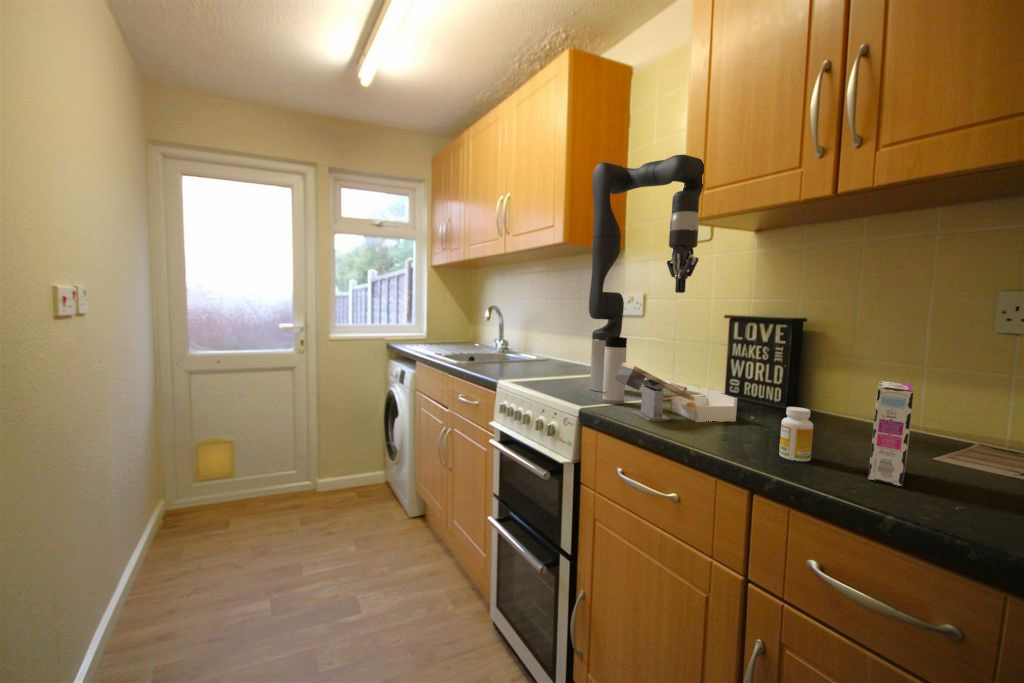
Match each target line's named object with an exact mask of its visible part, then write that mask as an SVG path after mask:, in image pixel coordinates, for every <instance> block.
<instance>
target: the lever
mask: <svg viewBox="0 0 1024 683" xmlns="http://www.w3.org/2000/svg"><path fill="white" fill-rule="evenodd" d="M645 379H647V380H650V381H653V382H656V383H659V384H662V385H663V389H665V390H667V391H668V392H671V393H673V394H674V395H676V396H677V397H684V398H686V399H689V400H692V401H694V399H695V397H696V396H693V395H691V394H689V393H687V390H688V388H687V387H686V386H683V385H680V384H677V383H674V382H670V383H669V382H666V381H665V380H662V379H660V378H658V377H657V376H656V375H653V374H651V373H649V372H648V371H646V370H643V369H641V368H640V367H638V366H636V365H633V364H630V363H627V362H626V363H624V362H623V363H622V365H621V367H620V369H619V371H618V373H617V375H616V377H615V380H617V381H619V382H621V383H623V384H625V386H627V387H629V388H632V389H634V390H638V391H640V389H641V388H642V385H643V381H644V380H645Z"/></svg>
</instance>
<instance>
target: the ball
mask: <svg viewBox="0 0 1024 683" xmlns="http://www.w3.org/2000/svg"><path fill="white" fill-rule="evenodd" d="M686 406H688V407H691V408H693V409H695V406H697V405H696V404H695V403H692V402H690V403H688V404H686Z"/></svg>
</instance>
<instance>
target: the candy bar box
mask: <svg viewBox="0 0 1024 683" xmlns="http://www.w3.org/2000/svg"><path fill="white" fill-rule="evenodd" d="M914 391H915V390H914V388H913V384H911V383H903V382H895V381H894V382H893V381H884V380H880V381H879V383H878V385H877V390H876V400H875V409H874V420H873V430H872V436H871V437H872V439H871V449H870V456H869V457H870V458H869V464H868V465H869V467H868V474H867V480H869V481H871V480H874V481H873V482H875V481H880V482H885V483H889V484H893V485H897V486H896V487H898V486H902V487H903V486H904V479H905V471H906V464H907V456H908V450H909V441H910V432H911V423H912V414H913V405H914ZM889 484H888V485H889ZM893 485H892V486H893Z"/></svg>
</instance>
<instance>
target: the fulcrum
mask: <svg viewBox="0 0 1024 683" xmlns="http://www.w3.org/2000/svg"><path fill="white" fill-rule="evenodd" d="M642 385H643V386H642ZM642 385H641V399H640V400H641V403H640V410H632V414H634V413H635V414H634V415H636V414H637V415H636V416H638V415H639V416H641V417H643V418H645V419H647V420H655V421H654V422H666V421H665V420H672V419H671V418H670V417H668V416H666V415H664V414H663V409H664V393H665V392H664V388H663V385H662V384H659V383H656V382H653V381H650V380H648V379H646V378H645V379H644V381H643V383H642ZM639 416H638V417H639ZM641 417H640V418H641ZM643 418H642V419H643ZM645 419H644V420H645ZM647 420H646V421H647Z"/></svg>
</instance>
